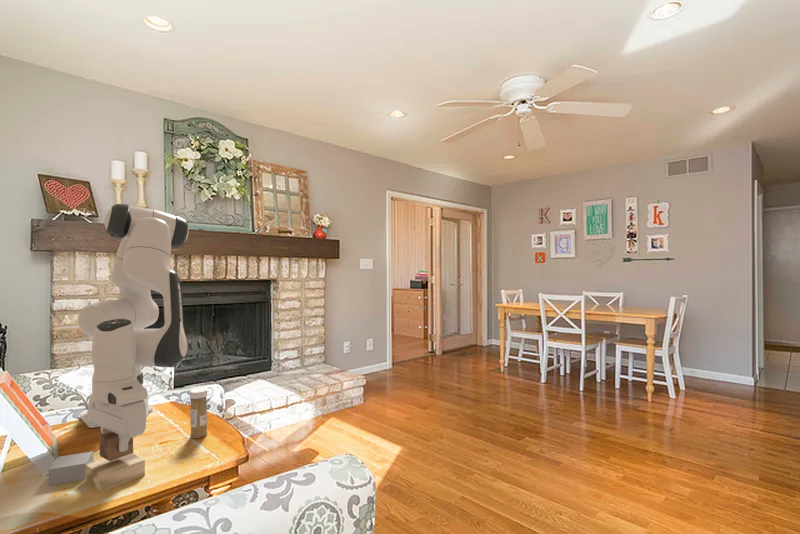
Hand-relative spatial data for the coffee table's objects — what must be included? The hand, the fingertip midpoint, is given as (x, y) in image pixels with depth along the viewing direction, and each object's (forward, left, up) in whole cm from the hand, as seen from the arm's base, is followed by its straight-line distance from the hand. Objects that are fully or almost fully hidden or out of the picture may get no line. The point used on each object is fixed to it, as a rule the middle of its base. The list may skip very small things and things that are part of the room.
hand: (115, 447), depth 101 cm
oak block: (0, 0, -8) cm, 8 cm away
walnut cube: (0, 0, -2) cm, 2 cm away
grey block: (-10, -5, -7) cm, 13 cm away
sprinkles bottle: (-6, +25, -7) cm, 27 cm away
